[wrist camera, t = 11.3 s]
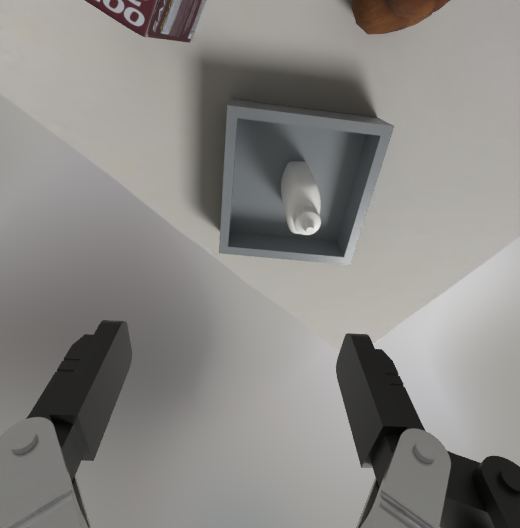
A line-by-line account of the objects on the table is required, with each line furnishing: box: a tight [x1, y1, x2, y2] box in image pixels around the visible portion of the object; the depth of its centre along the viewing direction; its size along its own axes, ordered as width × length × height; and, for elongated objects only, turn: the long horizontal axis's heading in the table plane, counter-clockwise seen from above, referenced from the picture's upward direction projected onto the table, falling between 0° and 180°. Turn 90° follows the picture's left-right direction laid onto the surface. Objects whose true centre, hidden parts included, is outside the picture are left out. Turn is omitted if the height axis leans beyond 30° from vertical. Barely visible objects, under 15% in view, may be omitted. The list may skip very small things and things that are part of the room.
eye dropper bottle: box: [281, 161, 321, 235], centre depth 33 cm, size 4×6×12 cm
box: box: [219, 99, 394, 265], centre depth 37 cm, size 16×16×5 cm
